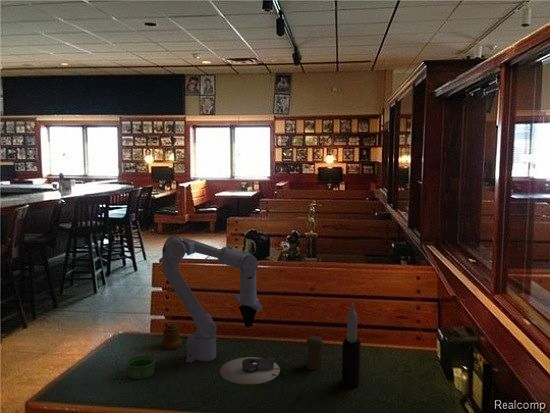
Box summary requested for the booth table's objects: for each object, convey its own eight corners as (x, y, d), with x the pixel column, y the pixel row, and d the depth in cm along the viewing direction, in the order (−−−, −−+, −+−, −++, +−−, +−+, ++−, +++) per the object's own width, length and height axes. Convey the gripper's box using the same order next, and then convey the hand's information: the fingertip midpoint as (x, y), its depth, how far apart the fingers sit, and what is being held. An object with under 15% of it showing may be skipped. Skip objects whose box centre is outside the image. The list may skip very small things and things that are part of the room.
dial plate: (208, 380, 142) (208, 375, 141) (238, 357, 159) (238, 352, 159) (263, 394, 134) (263, 388, 133) (289, 368, 151) (289, 363, 151)
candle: (360, 380, 143) (362, 301, 140) (357, 387, 138) (359, 306, 135) (344, 377, 144) (345, 299, 142) (341, 384, 139) (342, 304, 137)
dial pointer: (242, 372, 143) (242, 363, 143) (241, 365, 148) (241, 356, 148) (274, 371, 144) (274, 362, 144) (272, 364, 149) (272, 355, 149)
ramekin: (161, 373, 147) (161, 360, 146) (135, 383, 140) (135, 369, 140) (146, 365, 153) (145, 352, 152) (121, 374, 146) (120, 360, 146)
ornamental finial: (174, 340, 173) (186, 346, 168) (157, 346, 168) (168, 352, 163) (174, 320, 173) (186, 325, 168) (156, 325, 167) (168, 330, 162)
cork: (322, 375, 146) (323, 341, 145) (303, 373, 147) (304, 340, 146) (324, 367, 151) (325, 334, 150) (306, 365, 153) (306, 333, 152)
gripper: (269, 290, 155) (269, 330, 156) (247, 281, 167) (247, 318, 168) (251, 294, 151) (252, 334, 152) (230, 284, 162) (230, 322, 164)
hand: (248, 326), depth 160 cm, fingers closed
